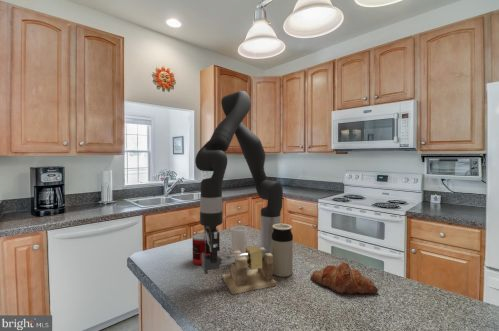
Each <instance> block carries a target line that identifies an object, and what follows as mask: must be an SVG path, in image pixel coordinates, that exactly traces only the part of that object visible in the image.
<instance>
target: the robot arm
mask: <svg viewBox="0 0 499 331" xmlns="http://www.w3.org/2000/svg"><path fill="white" fill-rule="evenodd" d="M220 105H221V108H222V111H223V113H224V115H225V117H224V118H223V120H221V121H220V123H219V124H218V125H217V126H216V127H215V129H214V131H213V132H212V135H211V136H210V139H209V140H208V141H207V142H206V143H204V145H202V147H200V149H199V150H198V152H197V153H196V155H195V159H194V162H195V166H196V168H197V170H199V171H201V172H212V175H211V177H207V178H204V179H202V180H201V182H200V200H199V224H200V226H203V233H204V239H205V242H206V243H205V252H206V254H210V262H211V263H217V255H218V252H220V251H221V250H220V249H221V248H220V234H221V233H220V231H219V230H218V229H217V227H218V226H221V225H222V224H223V220H224V219H223V214H224V213H223V182H224V176H225V173H226V170H227V166H228V156H227V154H226V151H228V149H229V147H230V144H231V142H232V140H233V137H234V135H235V137H236V140H237V142H238V144H239V146H240V149H241V152H242V154H243V157H244V159H245V161H246V164H247V167H248V169H249V172H250V174H251V177H252V179H253V182H254V183H253V184H254V187H255V190H256V193H257V195H258V197H259V198H260V199H262V200H265V201H267V203H266V206H265V207H262V208H261V209H260V248H261V247H263V248H265V250H267V252H268V253H271V254H272V233H273V227H272V226H273V225H274V224H281V211H282V210H283V198H284V195H283V194H284V193H283V192H284V189H283V185H282V183H280V182H279V181H278V180H276V181H275V180H269V179H268V178H267V175H266V172H265V162H266V152H265V149H264V146H263V144H262V141H261V139H260V138H259V137H258V136H257V135H256V134H255V133H254V132H253V131H252V130H250V129H249V128H248V127H247V126H246V125H245V124H244V123H243V121H244V119H245V118H246V116H247V115H248V113H249V112H250V110H251V108H252V101H251V97H250V96H249V93H247V92H246V91H244V90H238V91H235V92H233V93H229V94H227V95H224V96H223V97H222V98H221V104H220ZM214 245H215V247H214Z"/></svg>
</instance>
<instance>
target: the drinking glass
mask: <svg viewBox="0 0 499 331" xmlns="http://www.w3.org/2000/svg"><path fill="white" fill-rule="evenodd" d="M230 243H231V252H232V251H240V252H241V253H245V252H246V247H248V227H247V226H242V225H238V226H237V225H236V226H233V227H231V228H230Z"/></svg>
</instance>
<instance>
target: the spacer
mask: <svg viewBox="0 0 499 331" xmlns="http://www.w3.org/2000/svg"><path fill="white" fill-rule="evenodd" d="M259 248H260V247H258V246H257V245H250V246H248V245H247V247H246V252H248V253H249V254H250V261H247V267H248V268H249V270H254V269H259V268H262V251H261V250H260V249H259Z"/></svg>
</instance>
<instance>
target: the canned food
mask: <svg viewBox="0 0 499 331" xmlns="http://www.w3.org/2000/svg"><path fill="white" fill-rule="evenodd" d="M205 243H206V242H205V239H204V232H202V233H197V234H194V235H193V236H192V262H193V264H194V265H197V266H202V253H205V254H206V252H205ZM207 255H210V254H206V256H207Z"/></svg>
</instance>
